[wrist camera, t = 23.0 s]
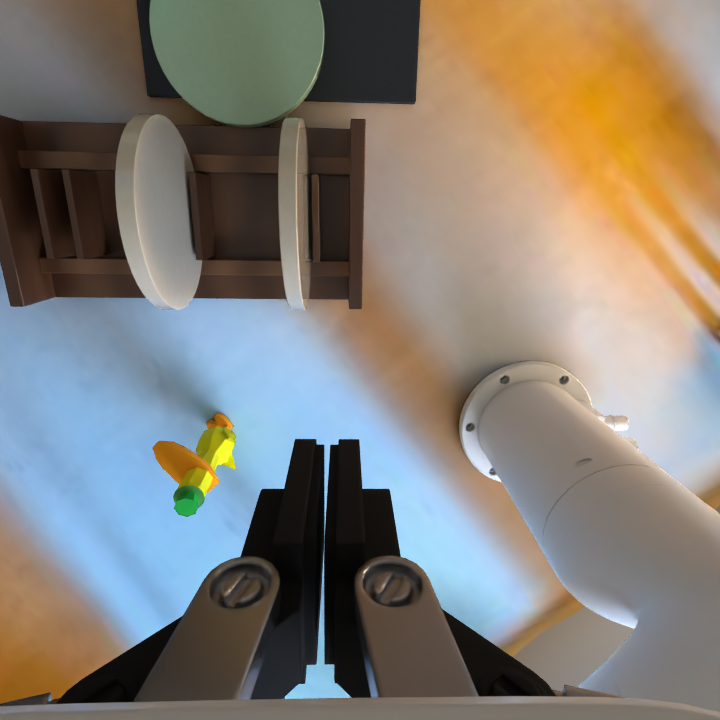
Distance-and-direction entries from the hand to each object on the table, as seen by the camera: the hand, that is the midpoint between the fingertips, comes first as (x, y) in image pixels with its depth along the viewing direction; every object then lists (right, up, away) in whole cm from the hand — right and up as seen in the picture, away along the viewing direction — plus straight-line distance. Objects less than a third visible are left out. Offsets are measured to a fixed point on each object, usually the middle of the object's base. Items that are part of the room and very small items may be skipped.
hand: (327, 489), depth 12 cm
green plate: (-8, +26, +20) cm, 34 cm away
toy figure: (-12, -2, +31) cm, 33 cm away
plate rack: (-12, +15, +25) cm, 32 cm away
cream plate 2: (-3, +13, +18) cm, 22 cm away
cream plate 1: (-12, +13, +18) cm, 25 cm away
